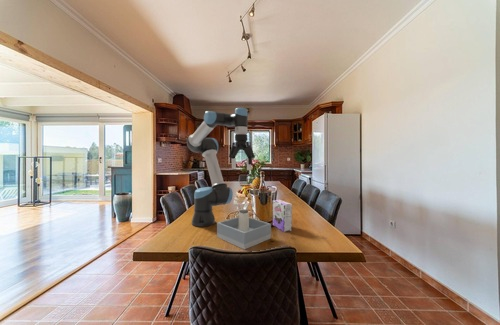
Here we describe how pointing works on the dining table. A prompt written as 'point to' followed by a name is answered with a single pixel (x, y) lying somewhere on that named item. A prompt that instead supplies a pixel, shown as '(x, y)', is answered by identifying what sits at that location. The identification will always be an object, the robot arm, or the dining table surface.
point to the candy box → (282, 215)
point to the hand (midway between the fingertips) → (241, 169)
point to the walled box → (247, 239)
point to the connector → (244, 220)
